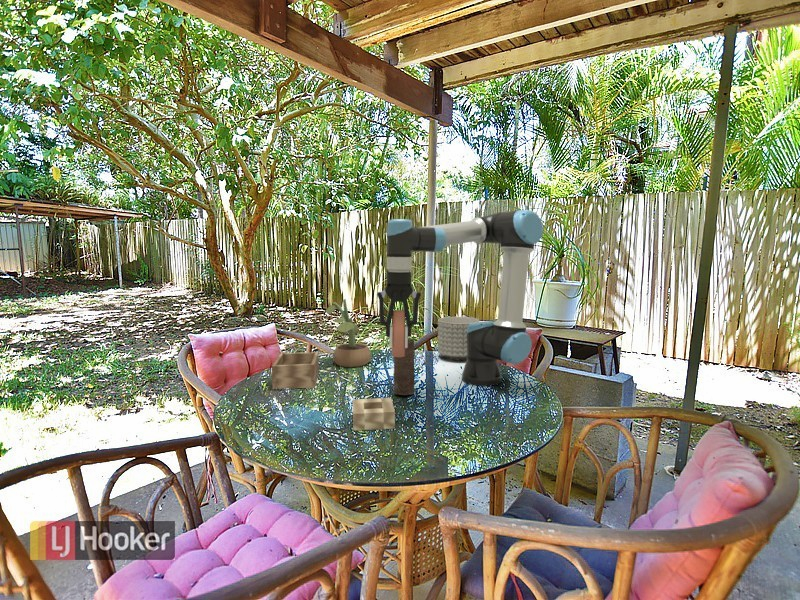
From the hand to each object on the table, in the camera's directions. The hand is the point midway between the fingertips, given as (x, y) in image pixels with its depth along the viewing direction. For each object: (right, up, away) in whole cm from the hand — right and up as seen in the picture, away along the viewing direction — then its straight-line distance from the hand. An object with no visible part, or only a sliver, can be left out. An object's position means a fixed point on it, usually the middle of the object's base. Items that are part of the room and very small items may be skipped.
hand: (398, 346), depth 138 cm
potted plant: (-22, -15, +62) cm, 67 cm away
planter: (+28, -13, +72) cm, 78 cm away
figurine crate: (-40, -17, +38) cm, 58 cm away
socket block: (-8, -22, -3) cm, 24 cm away
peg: (0, -3, 0) cm, 3 cm away
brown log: (+2, -19, +21) cm, 29 cm away
